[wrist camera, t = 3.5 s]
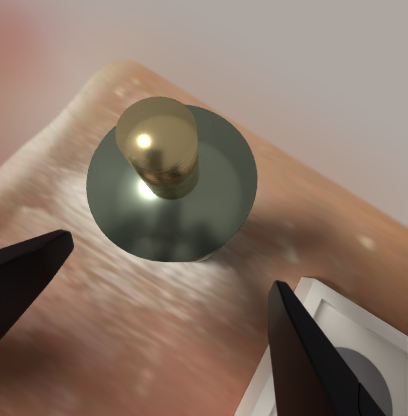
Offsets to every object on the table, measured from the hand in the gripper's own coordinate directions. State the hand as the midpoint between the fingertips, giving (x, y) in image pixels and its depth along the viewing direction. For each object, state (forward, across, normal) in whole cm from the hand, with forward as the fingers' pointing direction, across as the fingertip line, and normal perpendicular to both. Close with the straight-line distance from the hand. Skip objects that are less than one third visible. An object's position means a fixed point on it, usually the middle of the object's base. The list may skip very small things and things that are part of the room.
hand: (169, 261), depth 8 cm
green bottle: (+8, 0, +5) cm, 10 cm away
